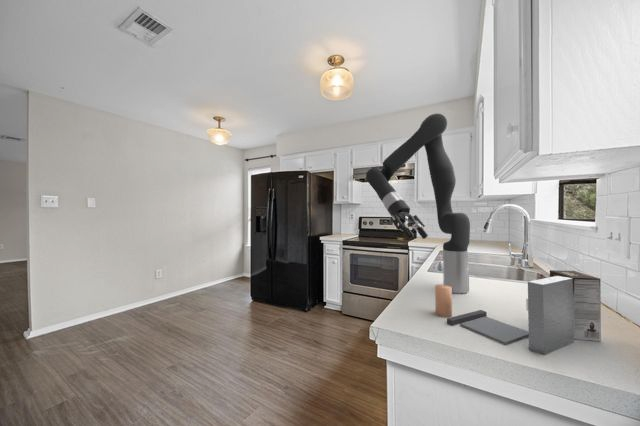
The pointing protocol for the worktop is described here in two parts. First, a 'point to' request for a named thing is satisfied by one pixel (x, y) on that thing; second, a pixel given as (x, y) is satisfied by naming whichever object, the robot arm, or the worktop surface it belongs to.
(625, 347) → the worktop surface
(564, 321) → the breaker panel
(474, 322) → the charcoal mat
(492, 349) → the worktop surface
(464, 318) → the dark grey slender bar
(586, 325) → the coffee box
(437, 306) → the peach domed cylinder
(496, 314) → the worktop surface
